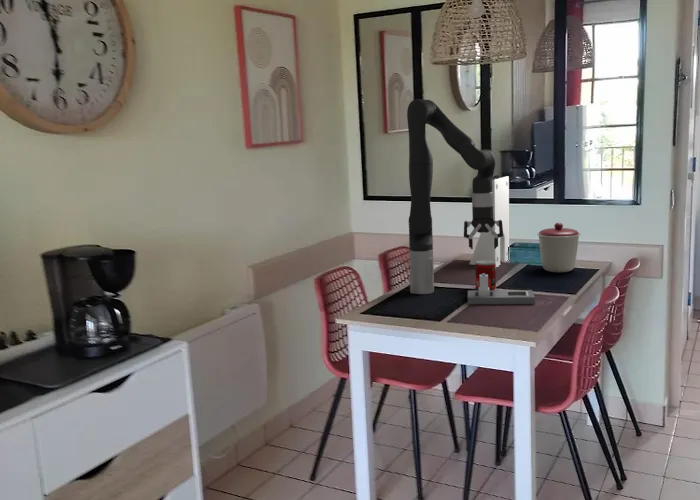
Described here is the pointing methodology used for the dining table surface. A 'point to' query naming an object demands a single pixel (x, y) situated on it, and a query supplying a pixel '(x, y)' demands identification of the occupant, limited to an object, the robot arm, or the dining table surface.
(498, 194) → the white bracket plate
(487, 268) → the canned food
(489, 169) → the robot arm
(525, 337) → the dining table surface
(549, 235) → the canister
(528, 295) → the panel
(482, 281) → the plug
